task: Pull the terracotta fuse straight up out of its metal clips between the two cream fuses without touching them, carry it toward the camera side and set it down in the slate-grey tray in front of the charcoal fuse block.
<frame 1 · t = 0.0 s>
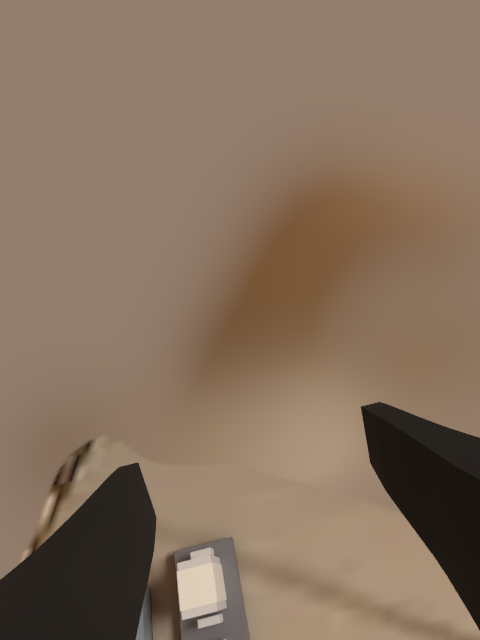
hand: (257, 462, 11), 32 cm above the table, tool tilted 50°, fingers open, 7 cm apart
fuse 1: (207, 585, 35), point 1 cm above the table, touching fuse block
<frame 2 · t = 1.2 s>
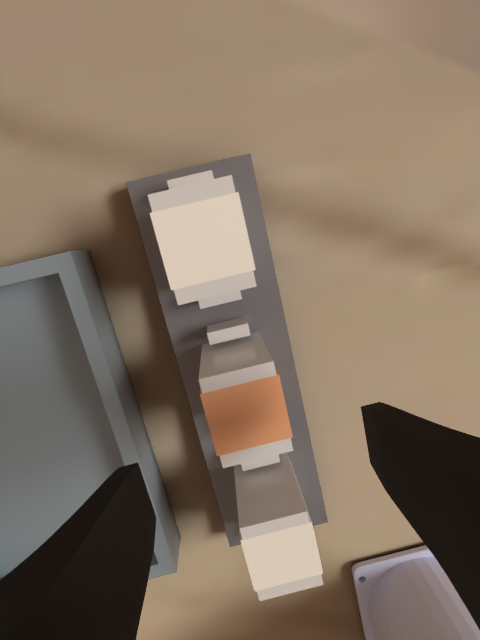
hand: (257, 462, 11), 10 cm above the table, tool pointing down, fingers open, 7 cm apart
tray: (35, 432, 21), on the table
fuse marked: (239, 372, 20), point 1 cm above the table, touching fuse block
fuse 1: (206, 242, 18), point 1 cm above the table, touching fuse block
fuse block: (237, 365, 21), on the table
fuse 2: (266, 484, 21), point 1 cm above the table, touching fuse block
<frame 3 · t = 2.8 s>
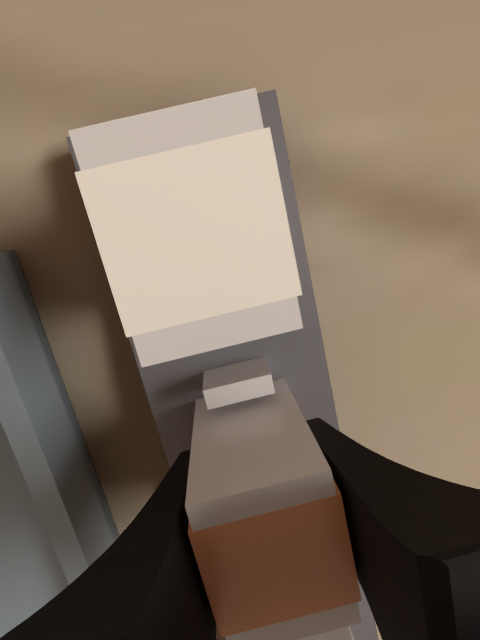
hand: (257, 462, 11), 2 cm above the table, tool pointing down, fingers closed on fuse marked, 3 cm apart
fuse marked: (253, 441, 13), point 1 cm above the table, touching fuse block, gripper
fuse 1: (202, 238, 11), point 1 cm above the table, touching fuse block
fuse block: (249, 424, 14), on the table
fuse 2: (292, 600, 14), point 1 cm above the table, touching fuse block
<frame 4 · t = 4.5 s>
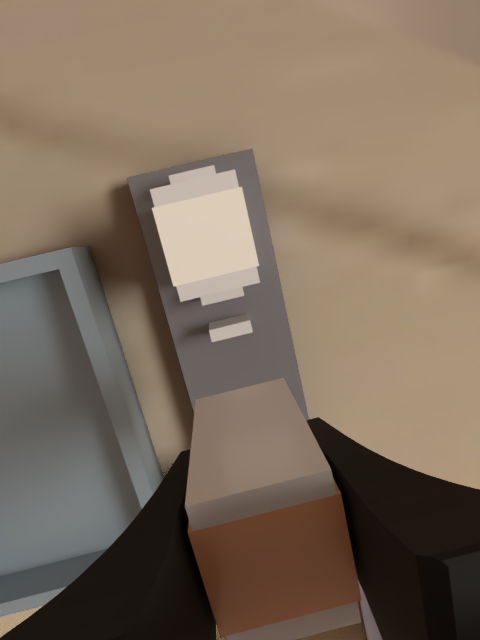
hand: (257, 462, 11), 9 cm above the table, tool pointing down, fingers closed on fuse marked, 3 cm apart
tray: (35, 430, 21), on the table
fuse marked: (253, 441, 13), point 8 cm above the table, touching gripper
fuse 1: (208, 238, 18), point 1 cm above the table, touching fuse block
fuse block: (239, 362, 21), on the table
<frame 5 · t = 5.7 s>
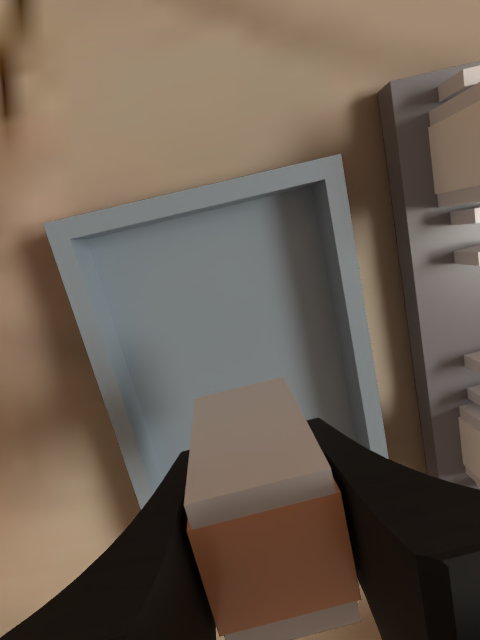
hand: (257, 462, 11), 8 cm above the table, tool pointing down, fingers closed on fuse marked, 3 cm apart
tray: (240, 375, 19), on the table
fuse marked: (252, 440, 13), point 6 cm above the table, touching gripper
fuse 1: (466, 153, 16), point 1 cm above the table, touching fuse block
fuse block: (462, 301, 19), on the table
when the fingers open (3 cm above the table, at t = 6.7 s): fuse marked drops 2 cm, resting on tray.
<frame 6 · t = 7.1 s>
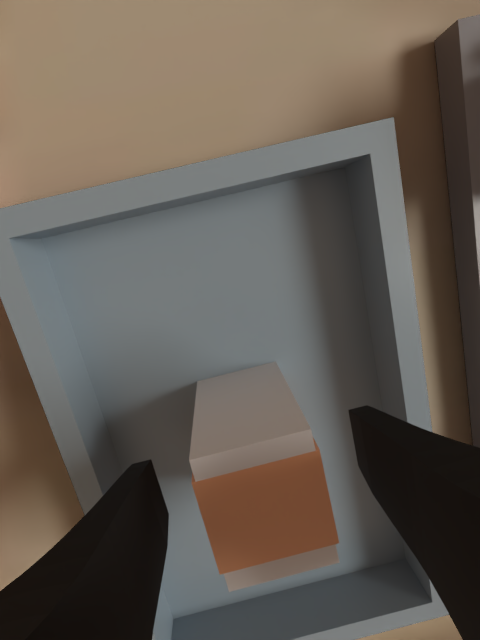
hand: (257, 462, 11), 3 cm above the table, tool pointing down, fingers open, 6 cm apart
tray: (247, 414, 15), on the table
fuse marked: (248, 419, 14), resting on tray
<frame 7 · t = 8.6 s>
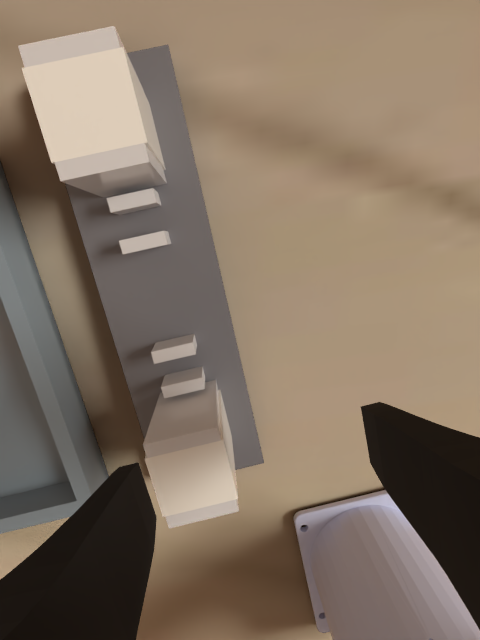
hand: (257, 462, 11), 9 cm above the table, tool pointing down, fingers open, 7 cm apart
fuse 1: (123, 145, 17), point 1 cm above the table, touching fuse block
fuse block: (166, 291, 19), on the table
fuse 2: (197, 420, 20), point 1 cm above the table, touching fuse block
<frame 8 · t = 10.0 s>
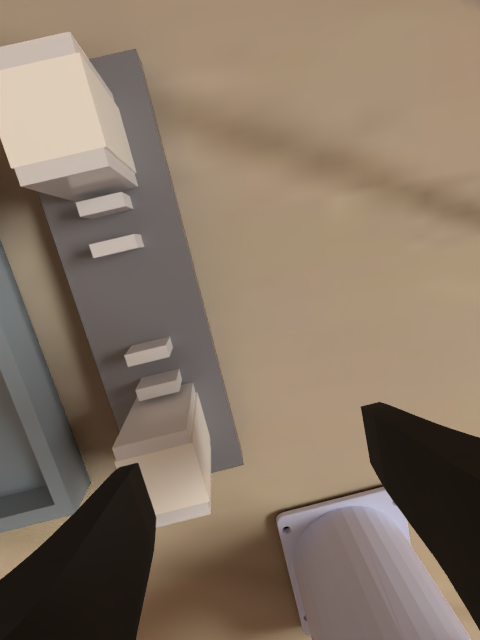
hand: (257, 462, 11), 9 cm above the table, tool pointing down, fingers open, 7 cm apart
fuse 1: (93, 149, 17), point 1 cm above the table, touching fuse block
fuse block: (142, 294, 19), on the table
fuse 2: (175, 422, 20), point 1 cm above the table, touching fuse block
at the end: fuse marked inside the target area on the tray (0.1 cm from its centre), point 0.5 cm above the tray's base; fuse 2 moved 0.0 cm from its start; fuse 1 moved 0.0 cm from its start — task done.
